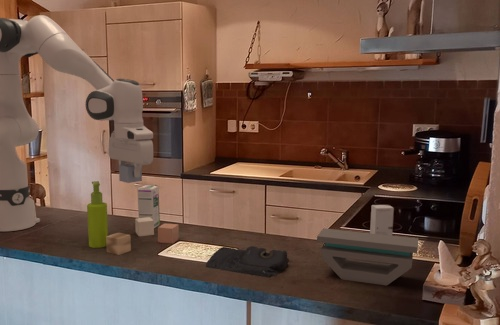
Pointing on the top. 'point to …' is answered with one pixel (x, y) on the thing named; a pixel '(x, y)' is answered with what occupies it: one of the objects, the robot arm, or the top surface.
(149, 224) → the cream cube
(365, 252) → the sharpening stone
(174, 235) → the terracotta cube
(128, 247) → the oak cube
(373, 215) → the skincare box
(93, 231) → the soap dispenser
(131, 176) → the slate-blue cube
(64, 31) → the robot arm
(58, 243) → the top surface
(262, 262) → the crumpled black cloth
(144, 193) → the syrup box
